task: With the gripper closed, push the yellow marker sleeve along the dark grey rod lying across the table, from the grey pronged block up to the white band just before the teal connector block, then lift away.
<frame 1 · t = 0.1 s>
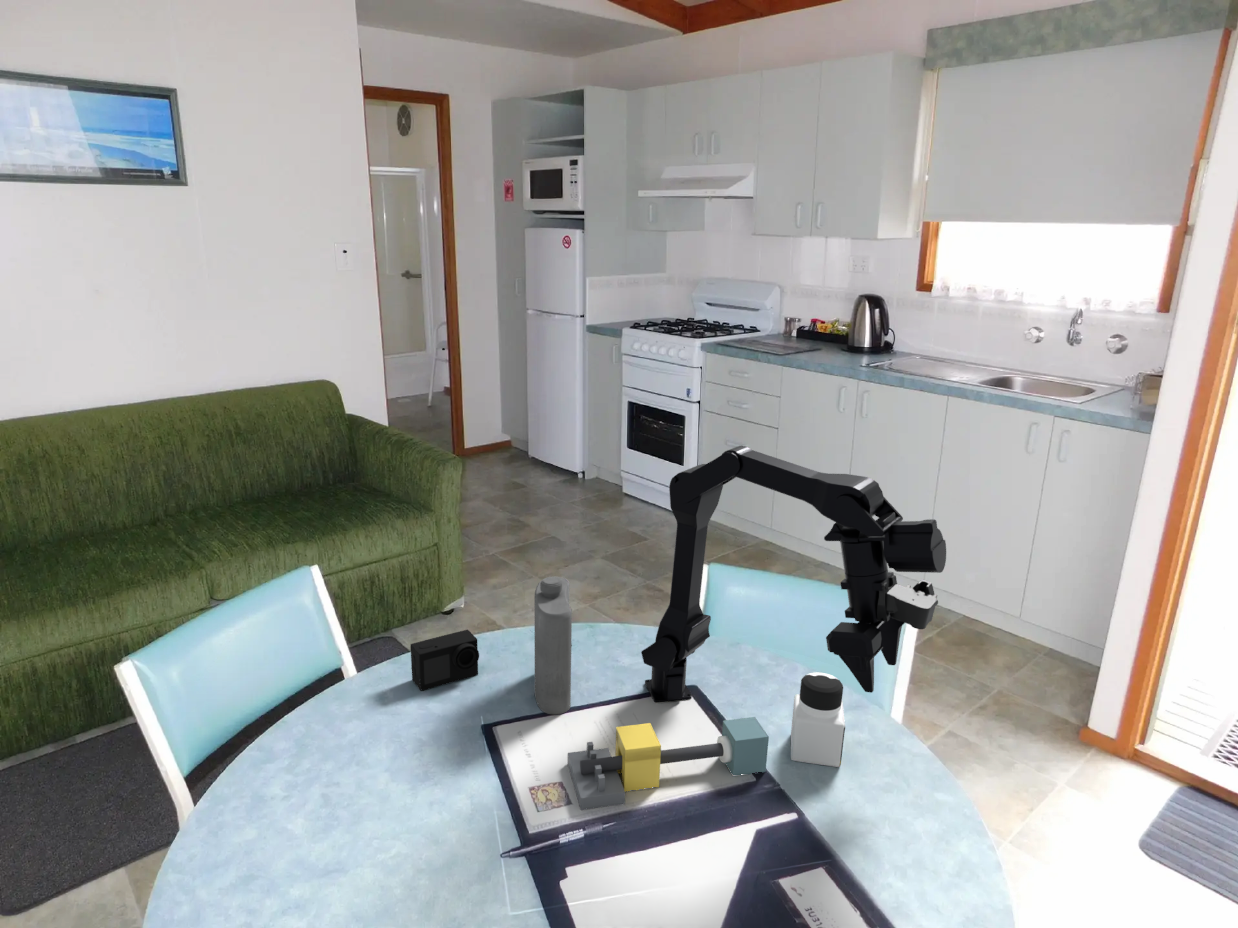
hand: (881, 677, 114), 15 cm above the table, tool pointing down, fingers open, 9 cm apart
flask: (552, 691, 138), on the table
dark grey rod: (670, 773, 117), on the table
medicine bottle: (814, 751, 124), on the table
grey pronged block: (595, 783, 115), on the table
sleeve: (637, 756, 115), point 4 cm above the table, slide at 0.0 cm
digital camera: (446, 680, 140), on the table
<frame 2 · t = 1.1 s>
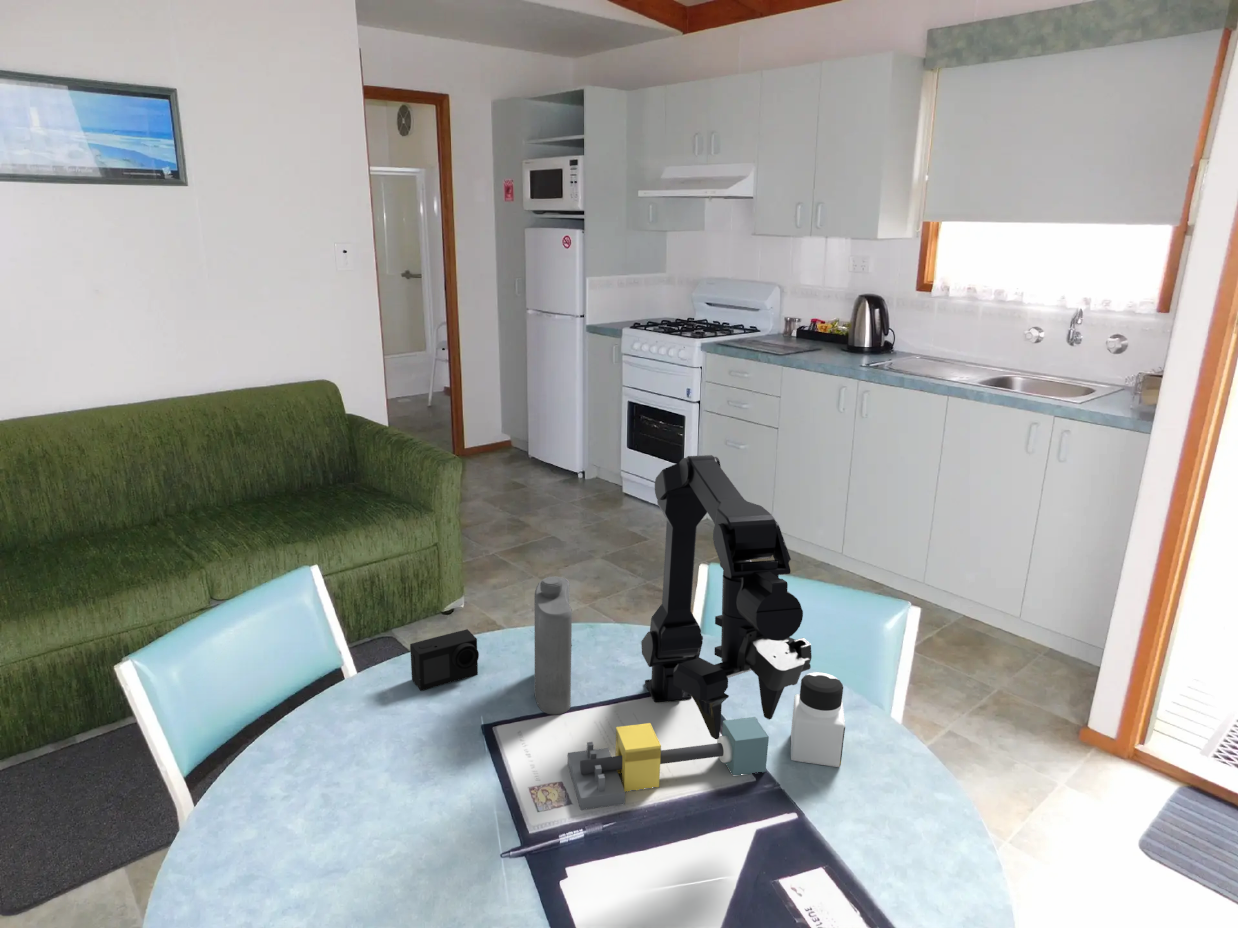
hand: (742, 727, 106), 13 cm above the table, tool pointing down, fingers open, 9 cm apart
nothing on the table moved.
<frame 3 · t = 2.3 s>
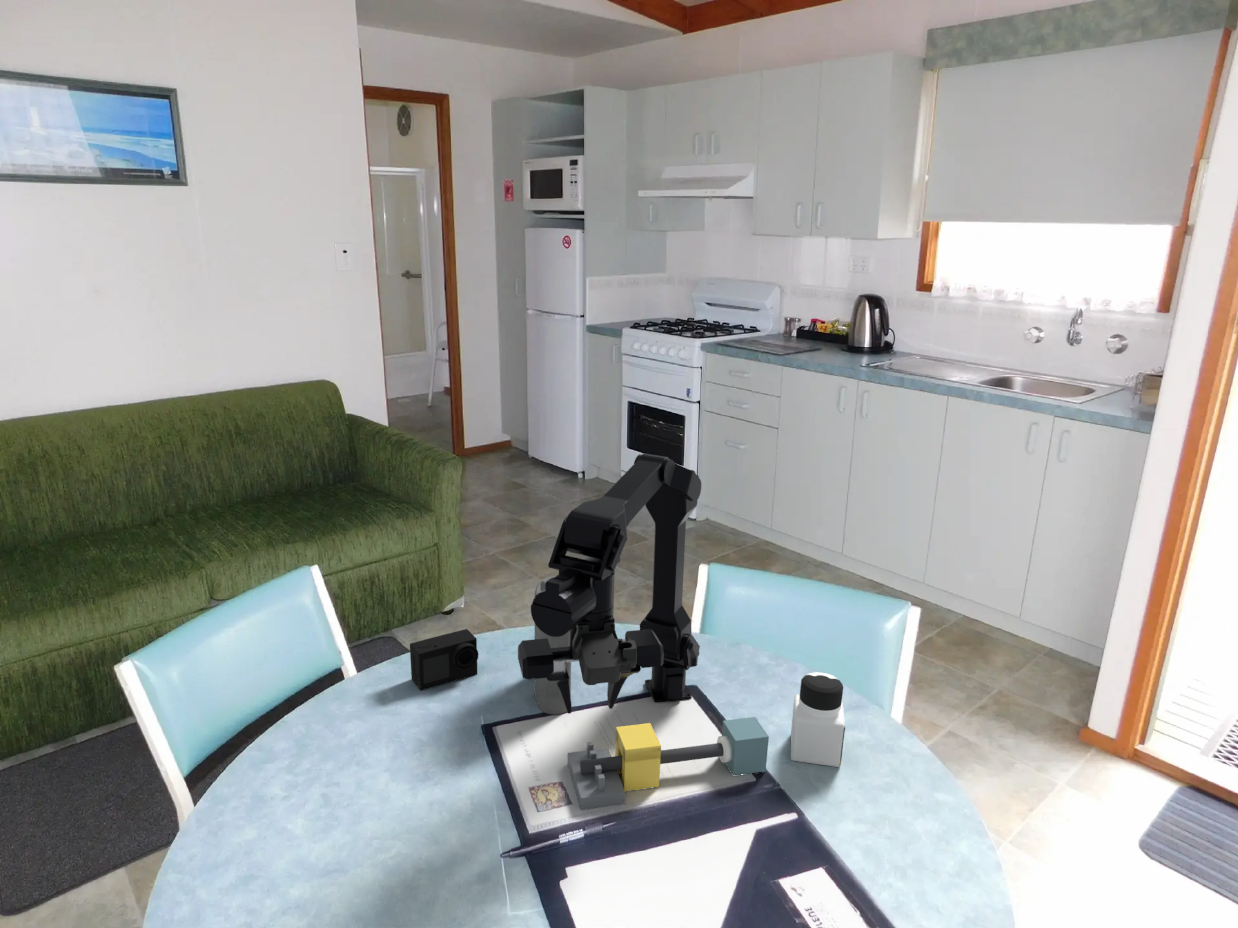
hand: (589, 709, 111), 12 cm above the table, tool pointing down, fingers open, 5 cm apart
nothing on the table moved.
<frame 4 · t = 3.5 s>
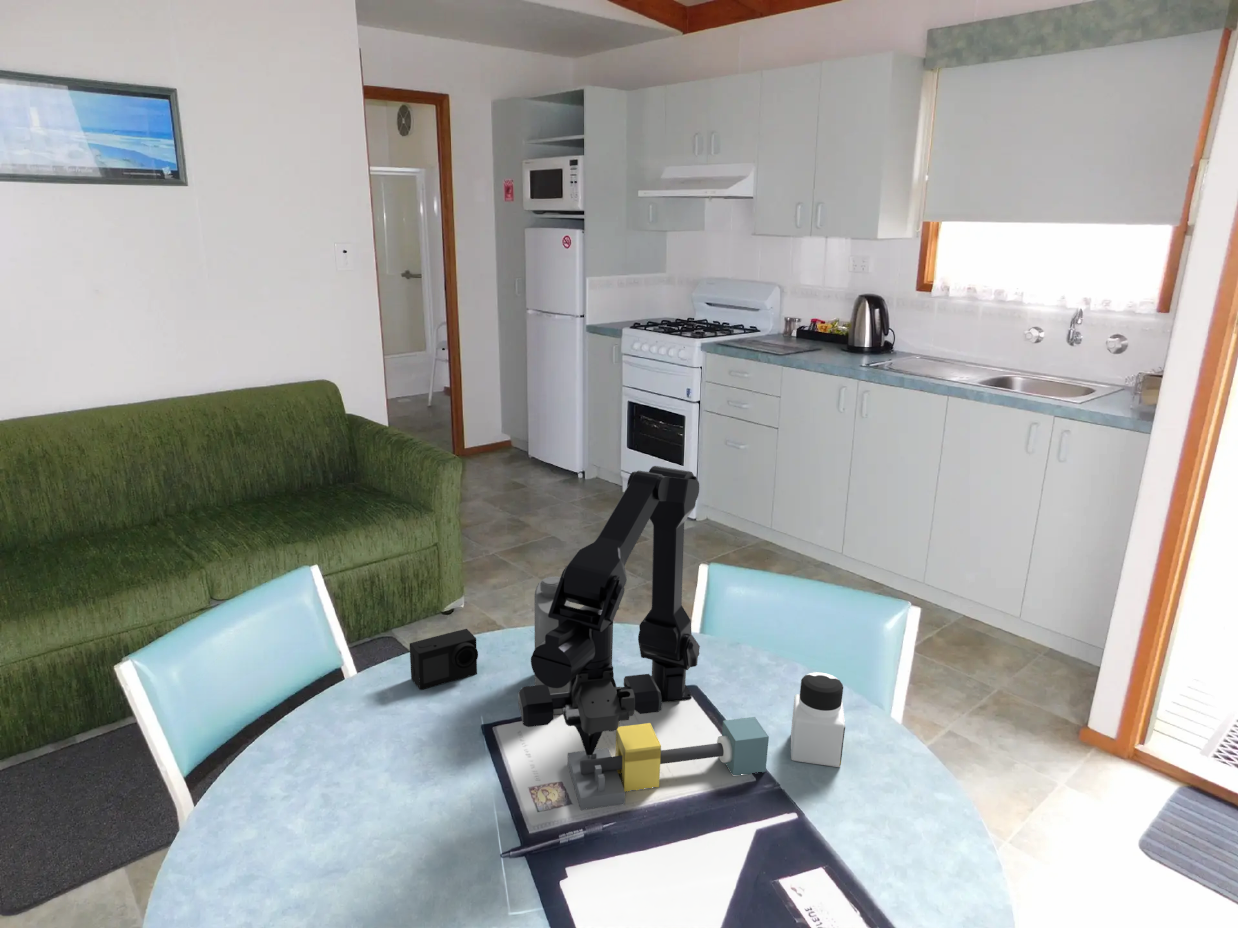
hand: (588, 753, 113), 5 cm above the table, tool pointing down, fingers closed
nothing on the table moved.
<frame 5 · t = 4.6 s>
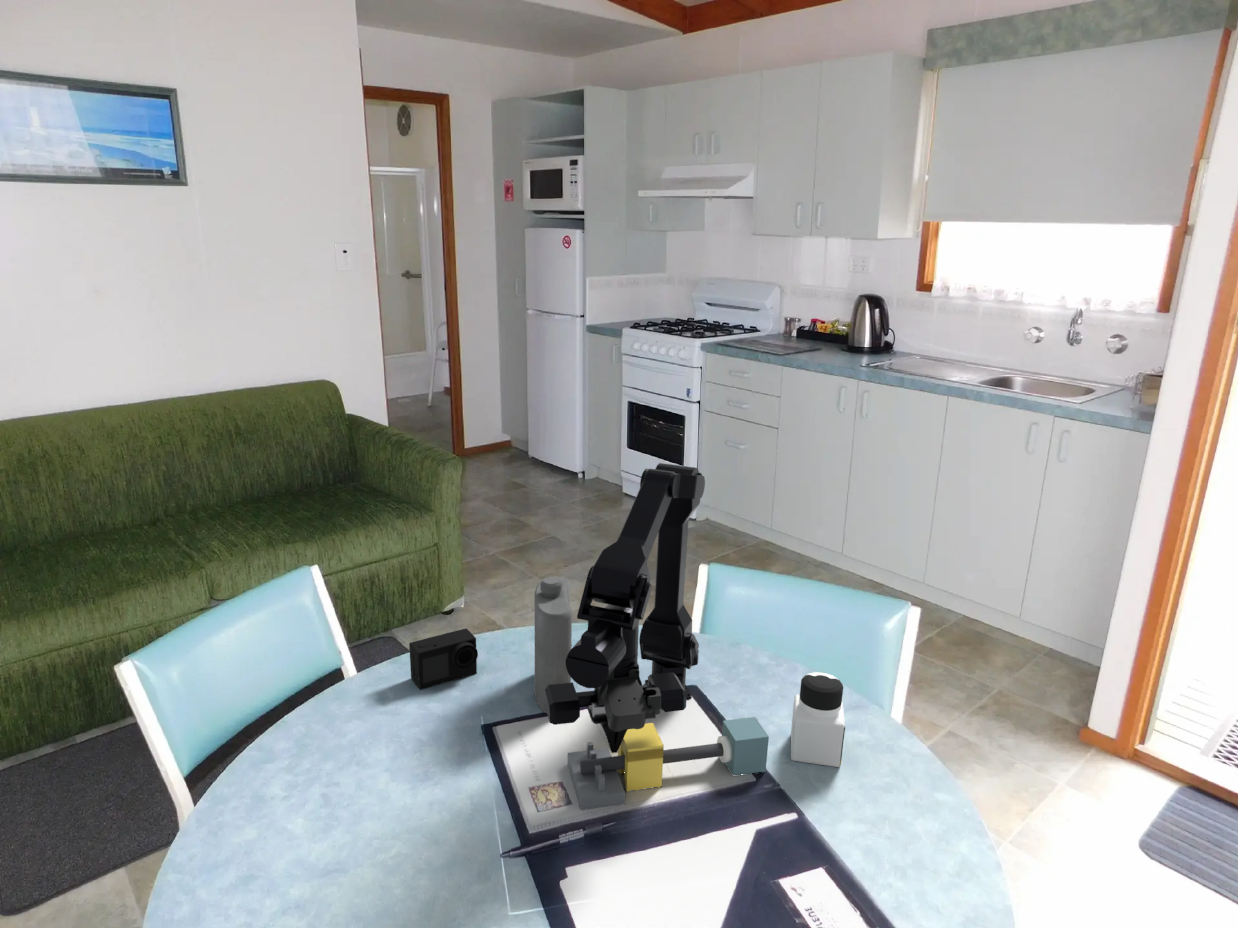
hand: (613, 750, 114), 5 cm above the table, tool pointing down, fingers closed
sleeve: (640, 756, 115), point 4 cm above the table, slide at 0.4 cm, touching gripper
everything else where it was.
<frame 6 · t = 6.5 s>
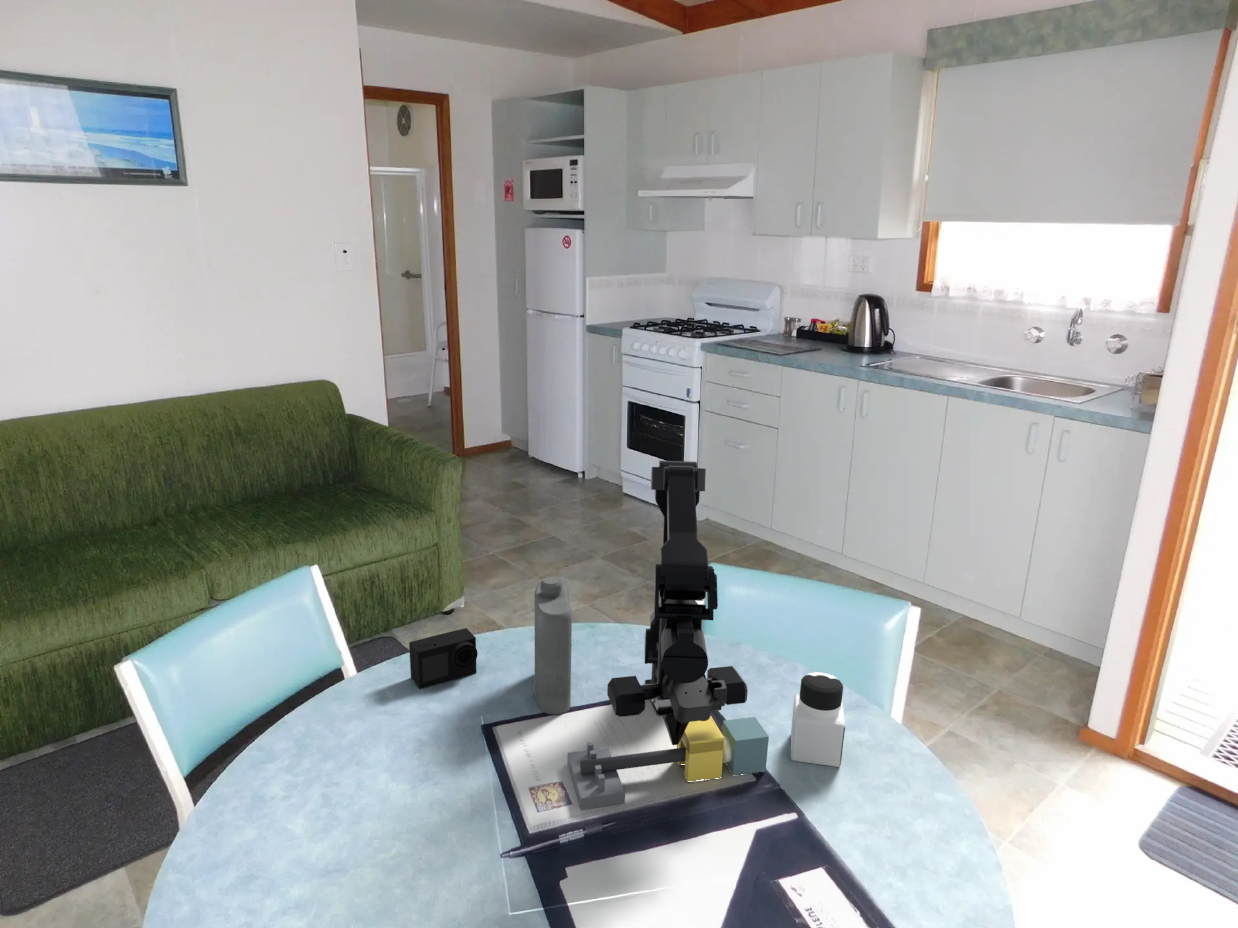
hand: (674, 743, 116), 5 cm above the table, tool pointing down, fingers closed
sleeve: (699, 748, 117), point 4 cm above the table, slide at 9.2 cm, touching gripper
everything else where it was.
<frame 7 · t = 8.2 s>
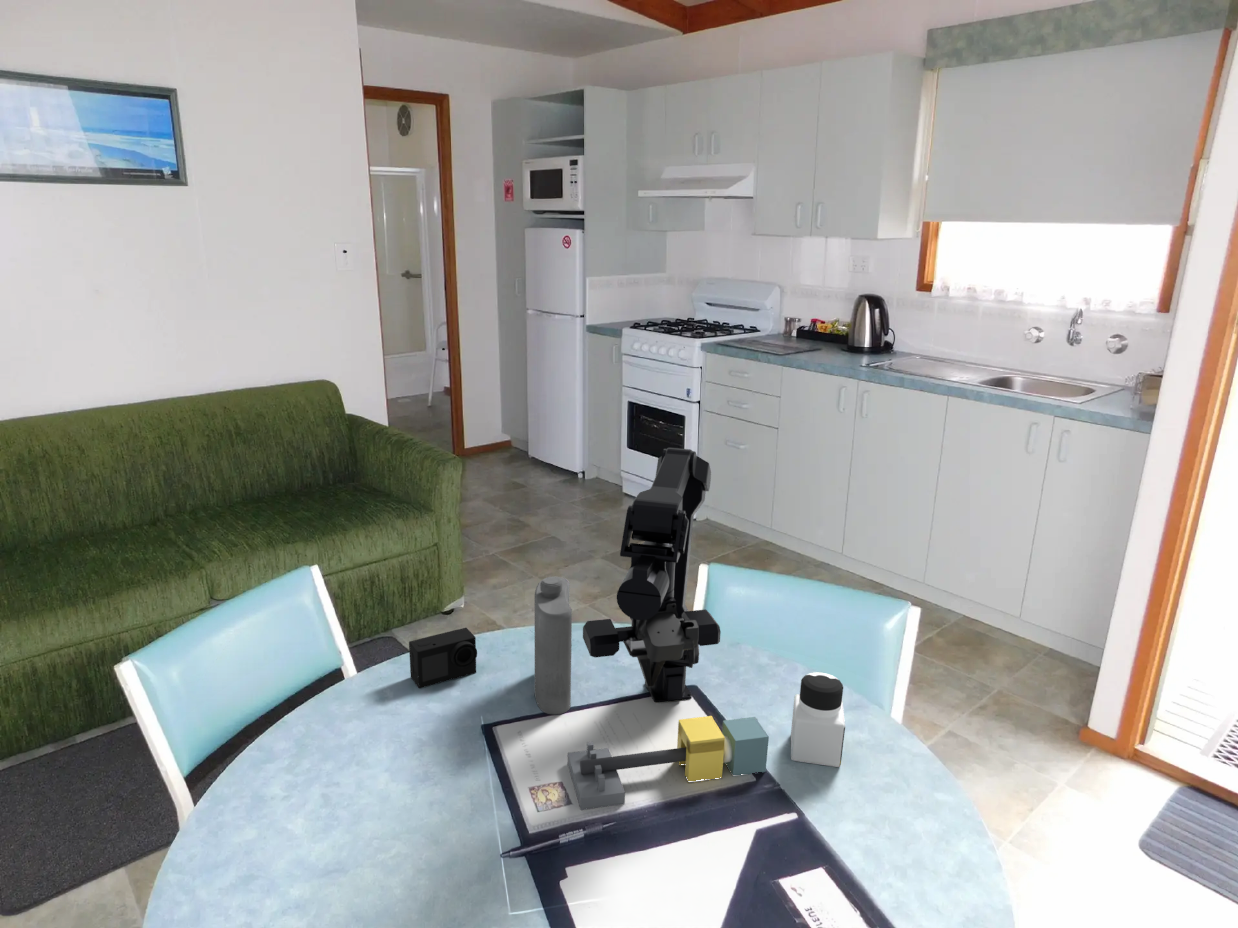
hand: (649, 685, 118), 12 cm above the table, tool pointing down, fingers closed
sleeve: (700, 748, 117), point 4 cm above the table, slide at 9.2 cm
everything else where it was.
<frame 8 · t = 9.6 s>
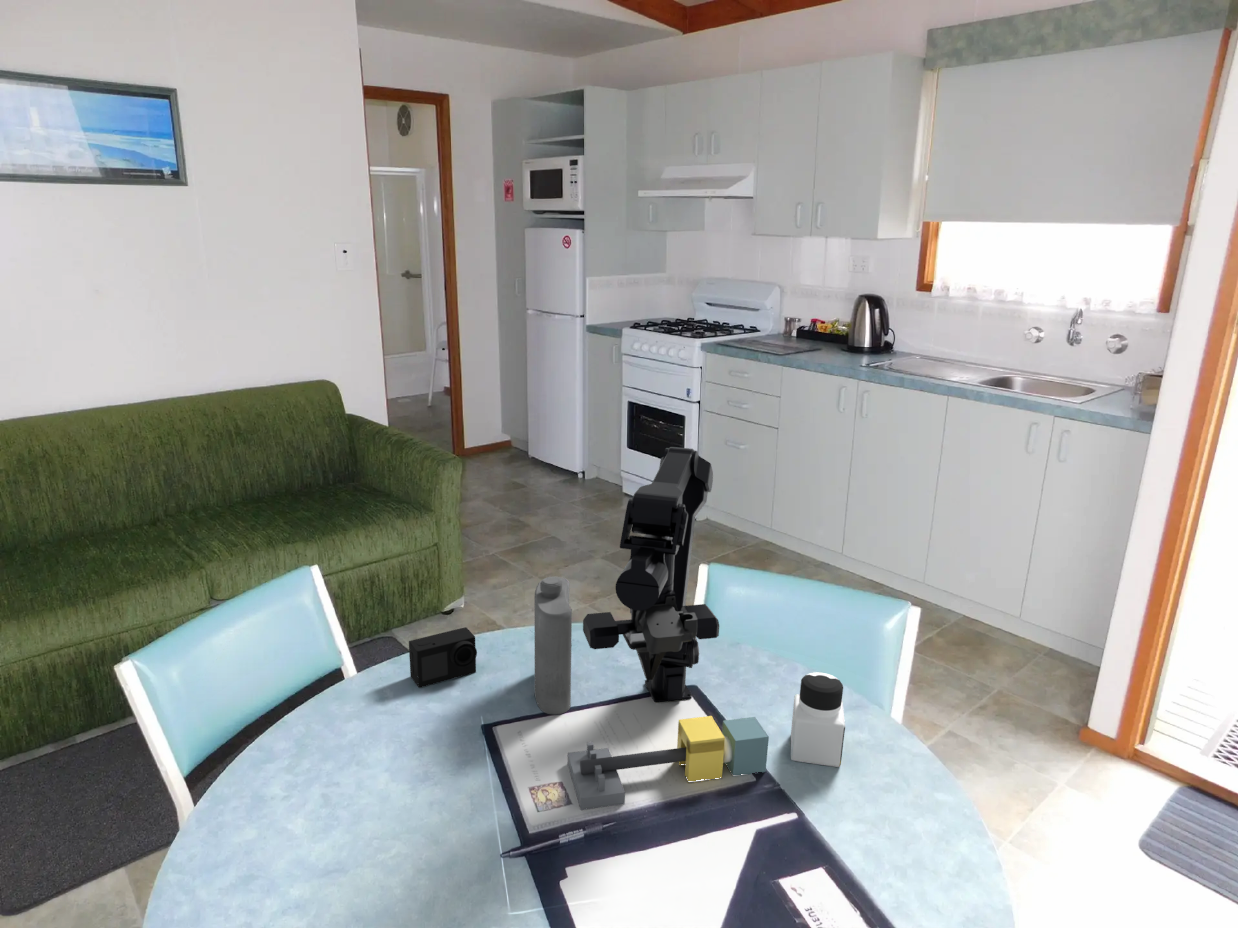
hand: (648, 678, 119), 12 cm above the table, tool pointing down, fingers closed
at the end: sleeve slide at 9.2 cm; sleeve touching nothing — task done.
